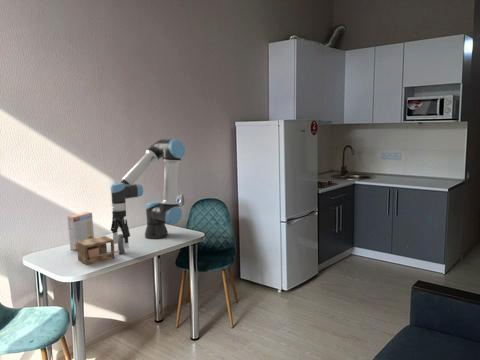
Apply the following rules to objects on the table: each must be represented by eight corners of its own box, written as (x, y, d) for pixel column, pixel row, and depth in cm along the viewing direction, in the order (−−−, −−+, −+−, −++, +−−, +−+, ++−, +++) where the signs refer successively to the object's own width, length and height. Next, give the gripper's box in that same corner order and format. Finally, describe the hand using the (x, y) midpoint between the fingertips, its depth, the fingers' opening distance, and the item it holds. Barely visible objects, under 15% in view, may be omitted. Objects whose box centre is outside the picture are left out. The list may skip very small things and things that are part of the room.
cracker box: (88, 243, 267) (86, 211, 264) (94, 244, 264) (92, 212, 261) (69, 249, 255) (66, 215, 252) (76, 250, 252) (73, 216, 249)
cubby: (106, 253, 245) (104, 235, 244) (114, 258, 237) (113, 239, 235) (78, 260, 235) (76, 241, 233) (86, 264, 226) (84, 245, 225)
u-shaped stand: (122, 251, 249) (121, 233, 247) (126, 253, 244) (125, 235, 243) (84, 260, 234) (83, 240, 233) (89, 262, 230) (87, 243, 228)
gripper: (103, 207, 249) (105, 242, 252) (122, 214, 230) (124, 251, 233) (115, 206, 254) (117, 240, 256) (135, 212, 235) (136, 249, 238)
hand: (120, 245), depth 245 cm, fingers open, 13 cm apart
